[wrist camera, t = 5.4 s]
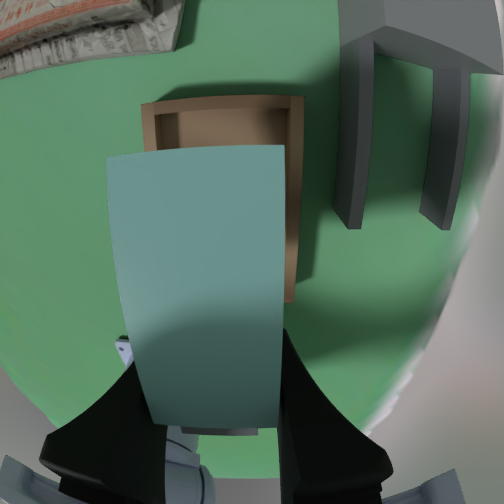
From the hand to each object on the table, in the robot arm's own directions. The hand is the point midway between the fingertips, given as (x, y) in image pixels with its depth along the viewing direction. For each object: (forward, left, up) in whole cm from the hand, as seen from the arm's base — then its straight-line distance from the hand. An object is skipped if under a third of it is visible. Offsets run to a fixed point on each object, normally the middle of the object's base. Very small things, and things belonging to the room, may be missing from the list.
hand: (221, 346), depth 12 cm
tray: (+3, 0, -8) cm, 9 cm away
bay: (+11, -10, -9) cm, 18 cm away
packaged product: (+19, +11, -9) cm, 24 cm away
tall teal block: (+3, 0, -3) cm, 4 cm away
